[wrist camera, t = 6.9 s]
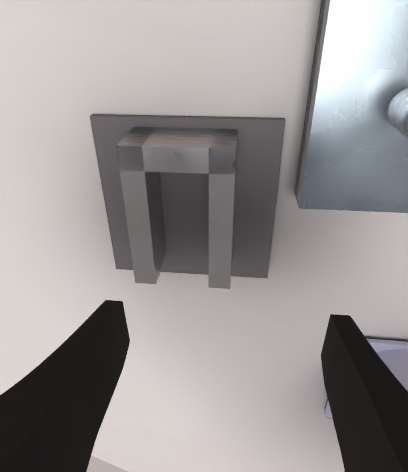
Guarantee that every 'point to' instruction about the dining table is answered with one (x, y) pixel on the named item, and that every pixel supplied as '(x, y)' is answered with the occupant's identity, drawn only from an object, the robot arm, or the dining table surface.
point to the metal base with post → (357, 110)
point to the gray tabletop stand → (150, 196)
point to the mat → (199, 193)
